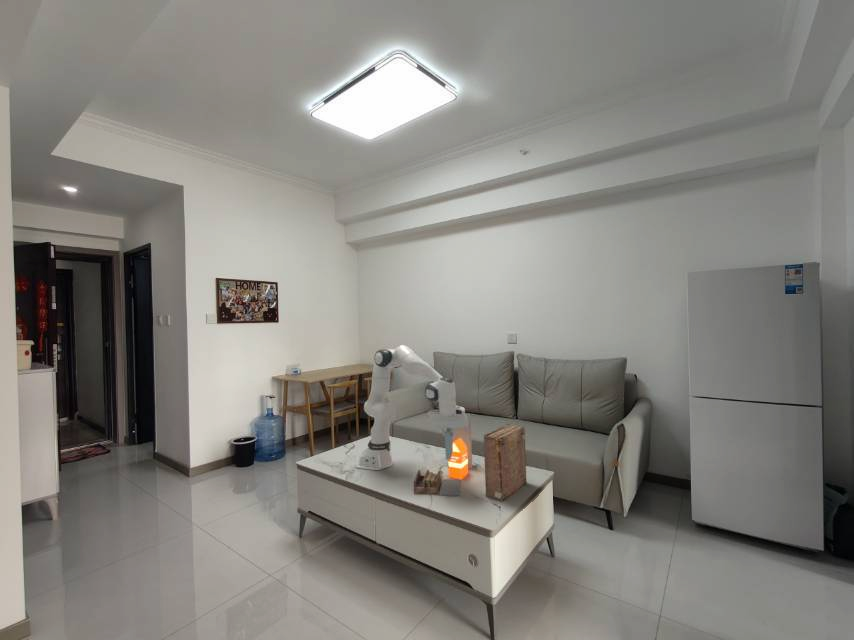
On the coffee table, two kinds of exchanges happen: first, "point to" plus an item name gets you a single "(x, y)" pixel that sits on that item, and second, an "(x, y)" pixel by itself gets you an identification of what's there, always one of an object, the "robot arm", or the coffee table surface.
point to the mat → (450, 487)
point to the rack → (425, 489)
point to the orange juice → (458, 460)
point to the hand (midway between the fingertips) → (448, 436)
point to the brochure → (465, 439)
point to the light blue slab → (448, 443)
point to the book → (504, 461)
